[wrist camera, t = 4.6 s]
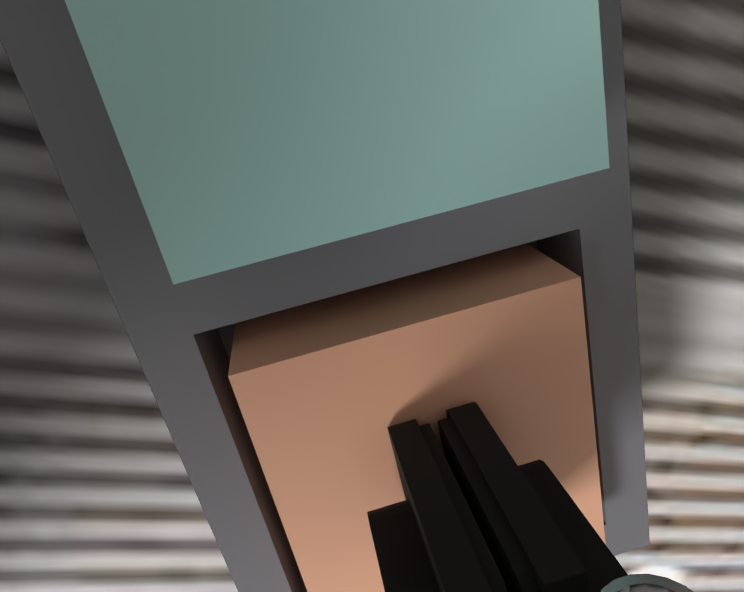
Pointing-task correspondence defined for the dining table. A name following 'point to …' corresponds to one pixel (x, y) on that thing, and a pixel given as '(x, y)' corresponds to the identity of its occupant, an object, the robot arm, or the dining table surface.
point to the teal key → (338, 113)
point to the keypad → (326, 290)
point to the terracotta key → (412, 394)
